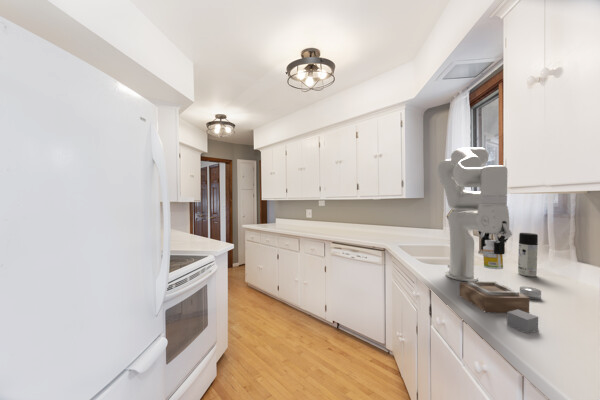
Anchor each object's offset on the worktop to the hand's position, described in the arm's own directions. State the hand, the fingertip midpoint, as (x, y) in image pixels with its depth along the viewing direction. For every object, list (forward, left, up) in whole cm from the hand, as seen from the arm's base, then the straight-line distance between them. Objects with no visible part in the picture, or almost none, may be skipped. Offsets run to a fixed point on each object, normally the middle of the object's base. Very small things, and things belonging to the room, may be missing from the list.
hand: (492, 251), depth 88 cm
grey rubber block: (+16, -3, -19) cm, 25 cm away
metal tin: (-6, +19, -19) cm, 27 cm away
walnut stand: (0, 0, -19) cm, 19 cm away
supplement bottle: (+1, 0, -6) cm, 6 cm away
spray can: (-32, +41, -19) cm, 55 cm away
